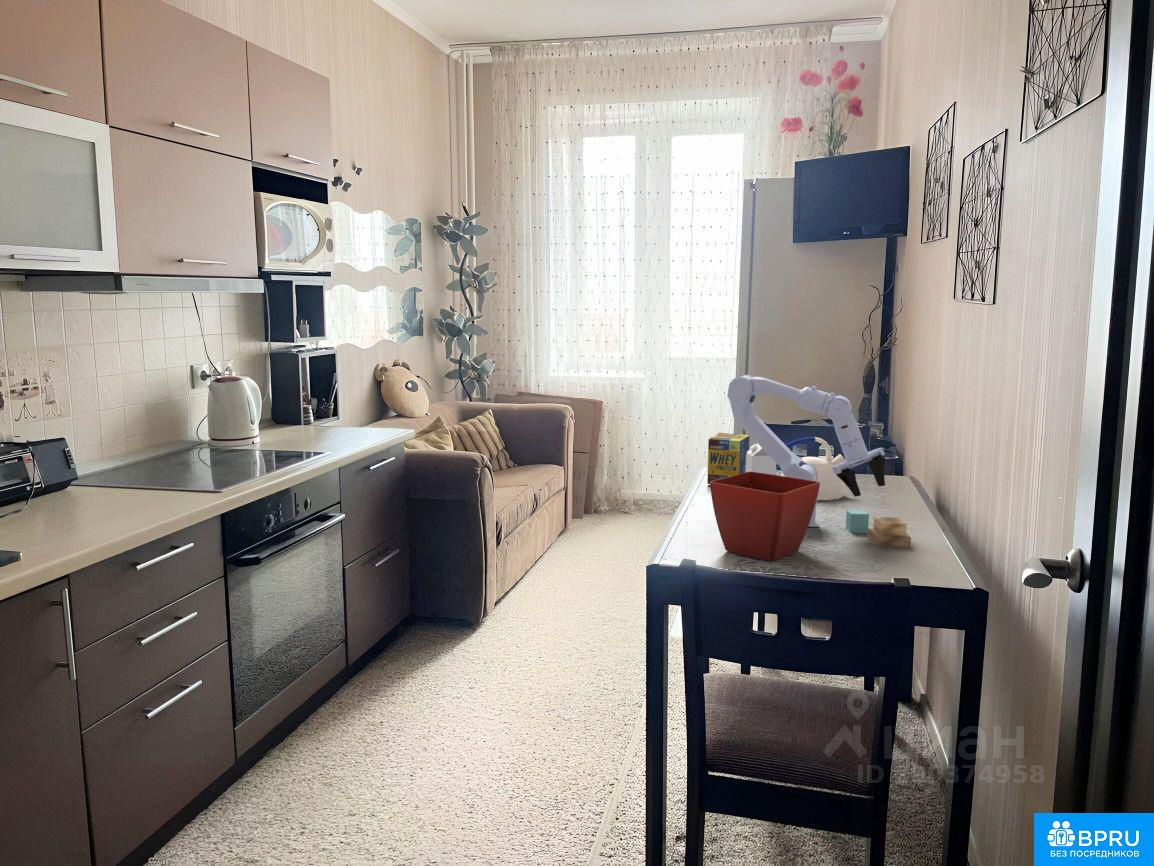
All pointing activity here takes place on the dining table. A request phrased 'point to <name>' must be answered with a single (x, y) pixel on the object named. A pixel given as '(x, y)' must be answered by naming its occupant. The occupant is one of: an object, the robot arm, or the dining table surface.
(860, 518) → the teal block
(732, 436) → the protein box
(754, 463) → the milk carton
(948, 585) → the dining table surface
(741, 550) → the plant pot
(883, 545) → the brown square slab
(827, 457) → the kettle
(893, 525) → the oak slab
